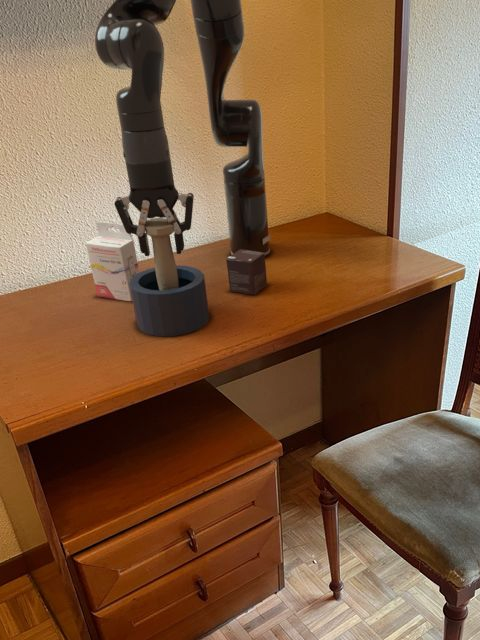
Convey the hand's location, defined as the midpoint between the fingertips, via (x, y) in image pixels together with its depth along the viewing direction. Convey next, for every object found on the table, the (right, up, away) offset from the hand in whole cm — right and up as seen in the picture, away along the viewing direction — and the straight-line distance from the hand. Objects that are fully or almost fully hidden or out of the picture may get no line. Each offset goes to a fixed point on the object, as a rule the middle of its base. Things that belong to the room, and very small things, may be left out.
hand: (163, 253), depth 121 cm
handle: (0, -8, +6) cm, 10 cm away
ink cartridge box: (-13, -4, +18) cm, 23 cm away
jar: (0, -11, +8) cm, 14 cm away
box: (+14, -3, +20) cm, 24 cm away
